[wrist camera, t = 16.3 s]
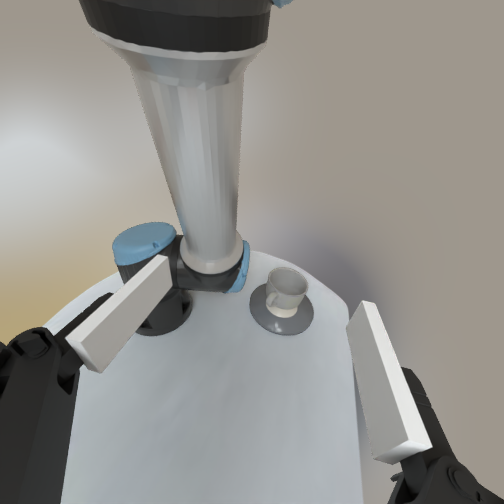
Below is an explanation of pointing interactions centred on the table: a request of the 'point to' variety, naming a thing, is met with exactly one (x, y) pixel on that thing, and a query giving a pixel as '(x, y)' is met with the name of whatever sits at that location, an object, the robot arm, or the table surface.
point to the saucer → (280, 314)
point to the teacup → (285, 288)
